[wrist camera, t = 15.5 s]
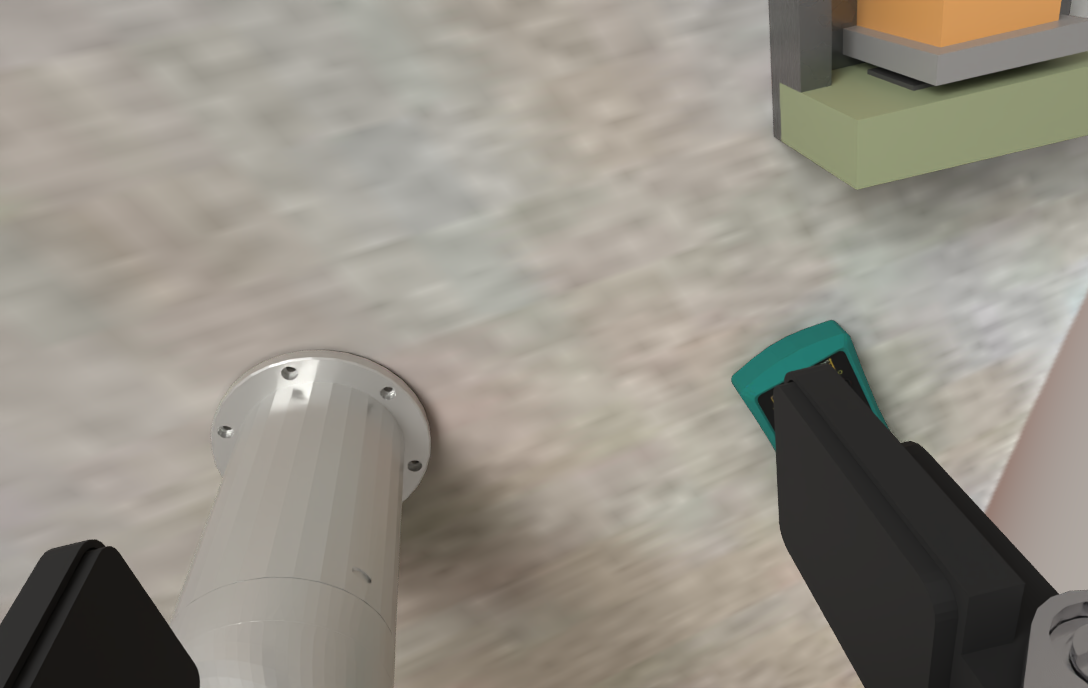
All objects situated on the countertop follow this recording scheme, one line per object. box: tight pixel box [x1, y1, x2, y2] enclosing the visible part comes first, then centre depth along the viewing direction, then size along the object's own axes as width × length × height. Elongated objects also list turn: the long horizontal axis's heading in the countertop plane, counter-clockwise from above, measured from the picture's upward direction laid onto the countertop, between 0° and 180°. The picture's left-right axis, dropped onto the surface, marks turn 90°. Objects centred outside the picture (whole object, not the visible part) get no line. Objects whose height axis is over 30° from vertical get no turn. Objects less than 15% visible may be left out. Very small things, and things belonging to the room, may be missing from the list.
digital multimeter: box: [731, 320, 889, 451], centre depth 49 cm, size 7×15×3 cm, turn 31°
